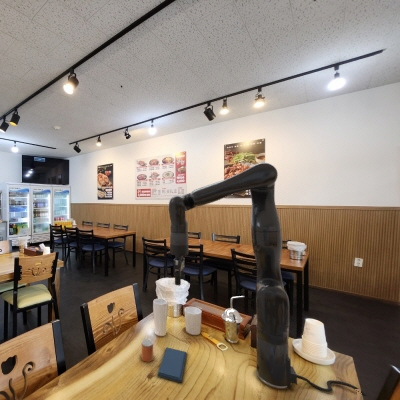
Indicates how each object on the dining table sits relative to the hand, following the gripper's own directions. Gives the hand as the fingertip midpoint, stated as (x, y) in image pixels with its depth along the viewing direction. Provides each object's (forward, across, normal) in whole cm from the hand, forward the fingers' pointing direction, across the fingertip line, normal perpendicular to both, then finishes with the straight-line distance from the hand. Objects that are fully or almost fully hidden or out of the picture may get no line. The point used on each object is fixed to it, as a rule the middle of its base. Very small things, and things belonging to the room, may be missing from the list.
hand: (179, 281), depth 95 cm
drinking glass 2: (+28, +9, +10) cm, 31 cm away
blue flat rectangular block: (+28, -10, +1) cm, 30 cm away
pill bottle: (+28, -10, +11) cm, 32 cm away
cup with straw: (+28, +16, -21) cm, 39 cm away
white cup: (+28, +17, -4) cm, 33 cm away
